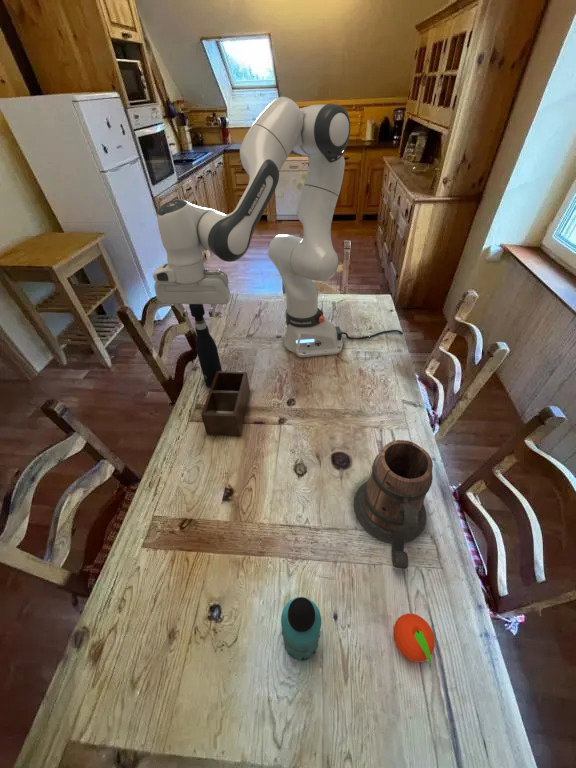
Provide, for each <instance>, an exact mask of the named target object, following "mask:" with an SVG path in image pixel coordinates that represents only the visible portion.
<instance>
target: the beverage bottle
mask: <svg viewBox="0 0 576 768" xmlns="http://www.w3.org/2000/svg"><path fill="white" fill-rule="evenodd" d="M280 624H281V634H282V635H281V637H282V640H283V645H284V646H283V648H284V650H285V652H286V654H287V655H288V656H289V657H290V658H291V659H292V660H294V661H297V662H300V663H303V662H305V661H306V662H307V661H309V660H311V659H312V657H314V655H316V653H317V650H318V648H319V641H320V638H321V628H322V614H321V611H320V610H319V608H318V606H317V604H316V603H315V602H314V601H313V600H311V599H309V598H308V597H304V596H298V597H294V598H291V599H290V600H289V601H288V602H287V603H286V604H285V606H284V607H283V609H282V612H281V616H280Z"/></svg>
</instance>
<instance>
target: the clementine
mask: <svg viewBox="0 0 576 768" xmlns="http://www.w3.org/2000/svg"><path fill="white" fill-rule="evenodd" d="M392 635H393V636H392V637H393V641H394V644H395V647H396V648H397V650H398V652H399V653H400V654H401V655H402V656H403V657H404V658H405V659H407V660H408V661H411V662H413V663H423V662H425V661H428V662H429V666H430V667H432V655H433V653H434V650H435V647H436V639H435V634H434V632H433V629H432V627H431V625H430V624H429V623H428V622H427V621H426V619H424V618H423V617H421V616H420V615H418V614H415V613H405V614H402V615H401V616H399V617H398V618H397V619H396V621H395V622H394V624H393V631H392Z"/></svg>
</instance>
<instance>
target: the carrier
mask: <svg viewBox="0 0 576 768" xmlns="http://www.w3.org/2000/svg"><path fill="white" fill-rule="evenodd" d="M248 375H249V374H248V371H237V370H236V371H234V370H233V371H232V370H231V371H230V370H222V371H216V374H215V377H214V379H213V382H212V385H211V388H209V391H208V394H207V397H206V400H205V402H204V404H203V408H202V411H201V413H200V416H201V420H202V424H203V426H204V429H205V433H206V436H220V437H221V436H224V437H225V436H226V437H240V436H241V433H242V430H243V425H244V421H245V416H246V412H247V407H248V402H249V398H250V394H251V390H250V382H249V376H248Z"/></svg>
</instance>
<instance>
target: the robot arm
mask: <svg viewBox="0 0 576 768" xmlns="http://www.w3.org/2000/svg"><path fill="white" fill-rule="evenodd" d="M350 135H351V119H350V115H349V112H348V111H347V110H346V109H345V108H344V107H343V106H342V105H338V104H335V103H327V104H322V103H321V104H317V103H316V104H310V105H308V106H304V107H299V105H298V104H297V103H296V102H295V101H294V100H293V99H291V98H289V97H287V96H279V97H276V98H274V100H272V101H271V103H269V104H268V105H267V106H266V107H265V109H264V110H263V111H262V112H261V113H260V114H259V116H258V117H257V118H256V120H255V121H254V122H253V123H252V125H251V126H250V128H249V129H248V132H247V133H246V134H245V136H244V138H243V140H242V142H241V144H240V147H239V158H240V162H241V165H242V168H243V169H244V171H245V172H246V174H247V175H248V177H249V178H248V179H249V180H248V184H247V186H246V188H245V190H244V191H243V193H242V195H241V197H240V199H239V201H238V203H237V204H236V206H235V208H234V210H233V211H232V212H230V213H228V214H225V213H223V212H222V211H218V210H216V209H214V208H209V207H204V206H203V207H202V206H198V205H196V204H192V203H191V202H188V201H187V200H186V199H182V198H181V199H180V198H178V199H172V200H169V201H167V202H165V203H163V204H162V205H161V206H159V208H158V210H157V217H156V218H157V225H158V231H159V235H160V238H161V243H162V246H163V248H164V249H165V251H166V260H167V262H164V263H161V264H160V265H159V266H158V267H157V268H156V269H155V270H154V272H153V274H152V278H153V280H154V281H155V282H154V286H153V287H154V293H155V297H156V300H157V301H158V303H160V304H162V305H173V306H174V308H175V309H176V310H177V311H178V313H180V317H181V318H185V317H188V315H189V312H188V308H184V307H183V305H189V304H203V305H210V307H211V308H210V309H209V310H208V316H209V318H215V317H216V315H217V314H216V309H217V306H218V305H227V304H228V303H230V301H231V298H232V294H231V290H230V287H229V277H228V274H227V273H226V272H224V271H222V270H221V269H215V270H214V269H206V267H205V263H204V257H203V253H204V252H206V251H208V252H211V253H212V254H214V255H215V256H216V257H217V258H219V259H220V260H222V261H224V262H228V263H231V262H236V261H238V260H240V259H241V258H242V257H243V256H244V255H245V254H246V253H247V251H248V249H249V247H250V245H251V243H252V242H251V241H252V238H253V235H254V232H255V230H256V228H257V225H258V223H259V222H260V220H261V218H262V216H263V214H264V212H265V210H266V209H267V207H268V205H269V203H270V201H271V199H272V197H273V195H274V193H275V191H276V189H277V186H278V184H279V179H280V171H281V169H282V167H283V165H284V164H285V162H286V160H287V159H288V158H289V156H290V154H294V155H297V156H306V157H307V160H308V169H307V172H306V175H305V177H304V182H303V186H302V189H301V193H300V196H299V200H298V204H297V209H296V216H297V219H298V221H299V222H300V223H301V224H302V229H303V236H302V237H299V236H296V235H293V234H277V235H275V236H274V237H273V238H272V239H271V240H270V242H269V245H268V249H267V250H268V253H267V254H268V258H269V260H270V262H271V263H272V264H273V265H274V267H275V269H276V271H278V274H279V276H280V279H281V281H282V284H283V287H284V291H285V298H286V310H285V323H286V332H285V337H284V341H283V346H284V347H285V348H286V349H287V350H288V351H290V352H292V353H294V354H295V355H296V356H297V357H299V358H309V357H311V358H312V357H320V356H329V355H338V354H340V353H341V351H342V349H343V345H344V344H343V343H344V342H343V337H342V335H345V337H346V338H347V339H349V340H363V339H368V338H373V337H376V336H379V335H382V334H387V333H399V334H400V335H404V333H403V331H401V330H399V329H391V330H383V331H379V332H377V333H373V334H370V335H365V336H364V335H363V336H360V337H351V336H349V334H348V333H347V332H344V331H342V329H341V328H340V326H335V324H334V323H333V322H332V321H330V320H328V319H326V318H325V316H324V311H323V308H322V307H320V308H319V290H318V287H317V285H316V284H315V283H314V282H313V281H316V282H327V281H329V280H331V279H332V278H333V277H334V275H335V274H336V272H338V271H337V270H338V267H339V256H338V253H337V252H336V250H335V248H334V246H333V242H332V241H333V240H332V231H331V230H332V222H333V218H334V213H335V211H336V206H337V202H338V199H339V196H340V192H341V189H342V185H343V180H344V176H345V175H344V174H345V169H346V160H345V157H344V154H345V152H346V149H347V145H348V144H349V140H350Z"/></svg>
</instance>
